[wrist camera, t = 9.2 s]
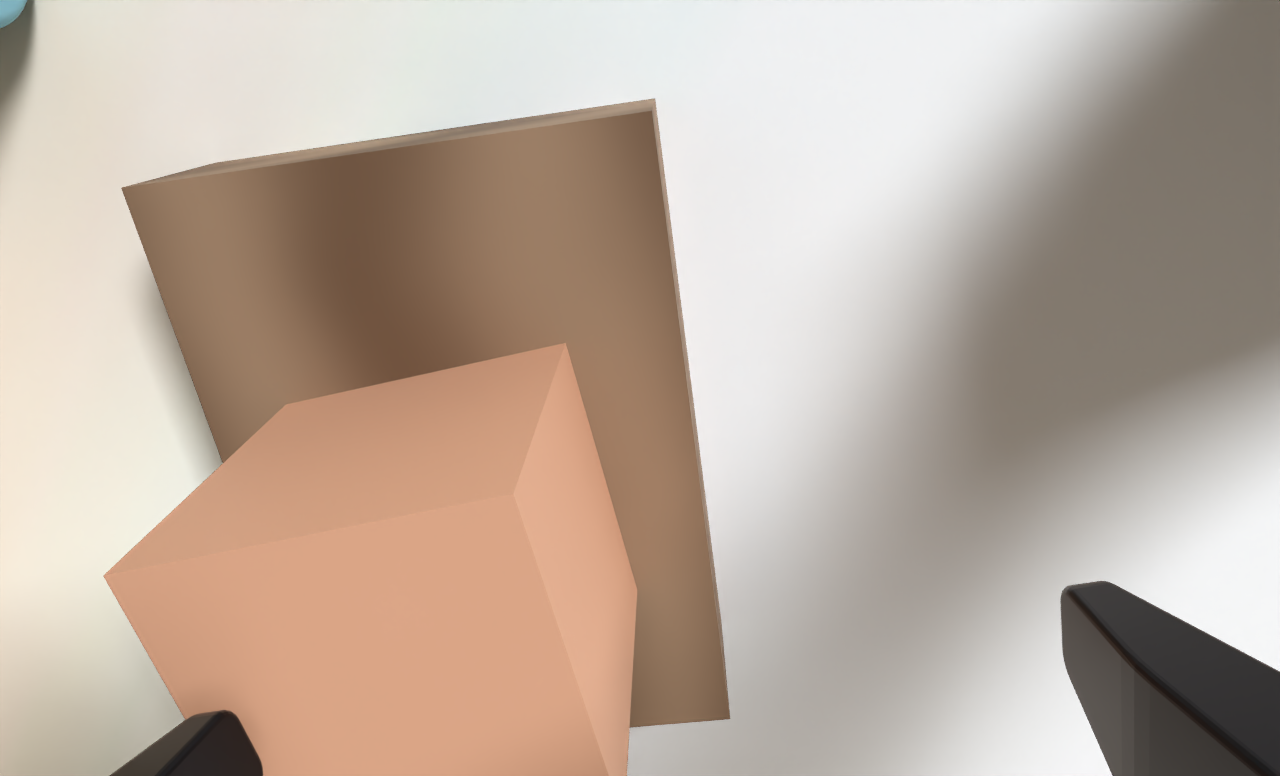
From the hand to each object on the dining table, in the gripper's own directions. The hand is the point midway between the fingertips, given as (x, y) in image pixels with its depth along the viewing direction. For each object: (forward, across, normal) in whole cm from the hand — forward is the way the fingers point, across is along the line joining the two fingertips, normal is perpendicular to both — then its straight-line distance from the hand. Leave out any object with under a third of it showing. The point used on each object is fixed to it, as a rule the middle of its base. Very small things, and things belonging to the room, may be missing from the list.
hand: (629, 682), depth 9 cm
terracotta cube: (+8, +4, +2) cm, 10 cm away
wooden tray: (+12, +5, +2) cm, 13 cm away
